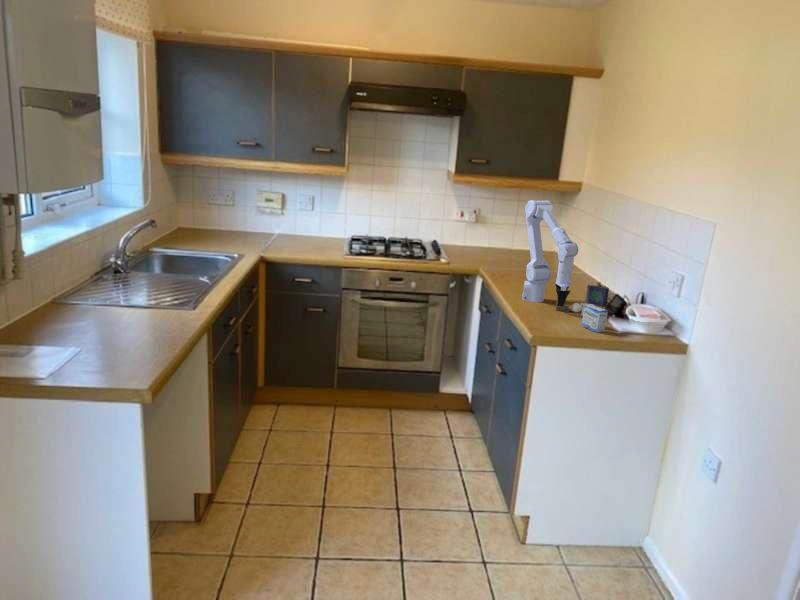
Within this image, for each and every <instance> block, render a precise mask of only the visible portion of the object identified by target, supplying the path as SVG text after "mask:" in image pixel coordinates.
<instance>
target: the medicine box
mask: <svg viewBox="0 0 800 600" xmlns="http://www.w3.org/2000/svg"><path fill="white" fill-rule="evenodd" d="M608 313H609V310H607V309H605V308H603V307H601V306H598V305H595V304H593V305H586V306H585V307H584V313H583V316H582V320H581V326H582V328H584V329H586V330H588V331H592V332H594V333H603V332H605V330H606V324H607V317H608Z"/></svg>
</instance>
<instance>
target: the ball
mask: <svg viewBox="0 0 800 600" xmlns="http://www.w3.org/2000/svg"><path fill="white" fill-rule="evenodd" d="M570 308H571V309H570V310H571V311H572V312H573V313H579V312H580V311H582V310H581V303H579V302H574V303H572V304H571V306H570Z"/></svg>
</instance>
